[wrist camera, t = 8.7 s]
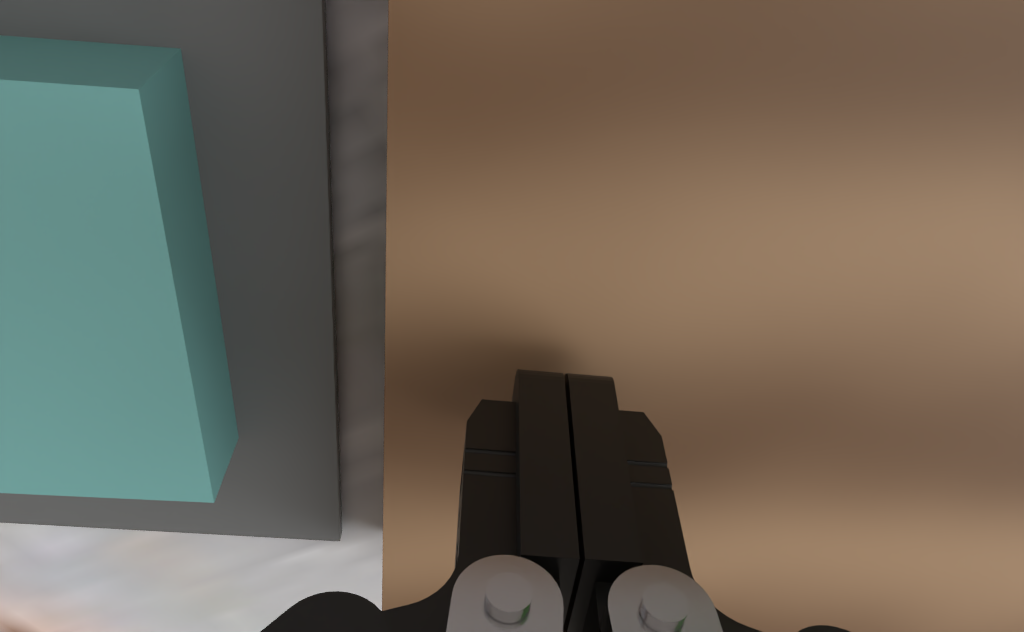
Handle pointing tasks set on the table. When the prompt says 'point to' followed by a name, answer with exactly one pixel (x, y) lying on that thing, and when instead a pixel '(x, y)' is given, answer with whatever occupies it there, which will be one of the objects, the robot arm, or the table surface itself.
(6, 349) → the teal flat block
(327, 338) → the mat
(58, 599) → the table surface
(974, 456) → the wooden block
